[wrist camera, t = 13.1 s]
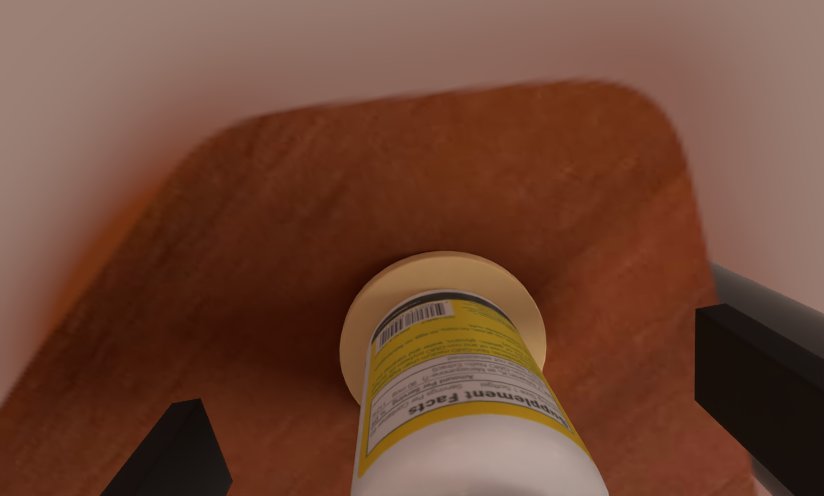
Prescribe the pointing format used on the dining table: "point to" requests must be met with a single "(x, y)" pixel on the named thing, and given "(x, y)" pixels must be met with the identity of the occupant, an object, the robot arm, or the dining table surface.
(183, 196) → the dining table surface
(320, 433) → the dining table surface
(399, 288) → the coaster
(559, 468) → the supplement bottle
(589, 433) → the dining table surface
